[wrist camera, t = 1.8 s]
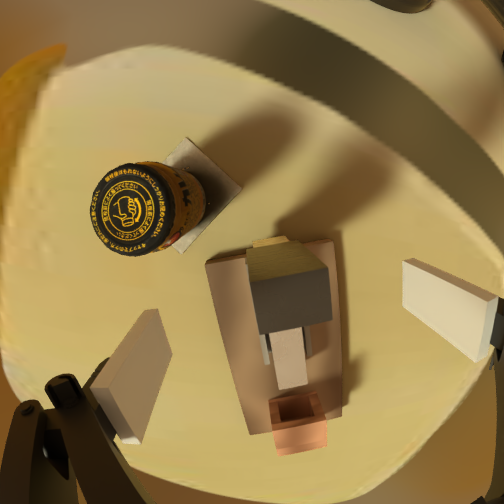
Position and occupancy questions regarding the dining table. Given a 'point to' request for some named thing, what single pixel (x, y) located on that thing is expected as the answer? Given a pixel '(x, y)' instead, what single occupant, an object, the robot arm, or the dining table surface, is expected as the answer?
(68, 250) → the dining table surface
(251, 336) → the rail slide board
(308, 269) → the mallet
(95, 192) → the condiment
